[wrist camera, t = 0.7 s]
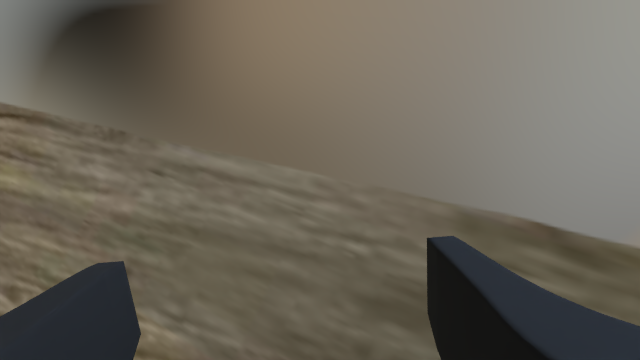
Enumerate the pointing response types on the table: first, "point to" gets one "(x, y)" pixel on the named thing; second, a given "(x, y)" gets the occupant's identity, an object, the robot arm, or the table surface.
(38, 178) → the table surface
